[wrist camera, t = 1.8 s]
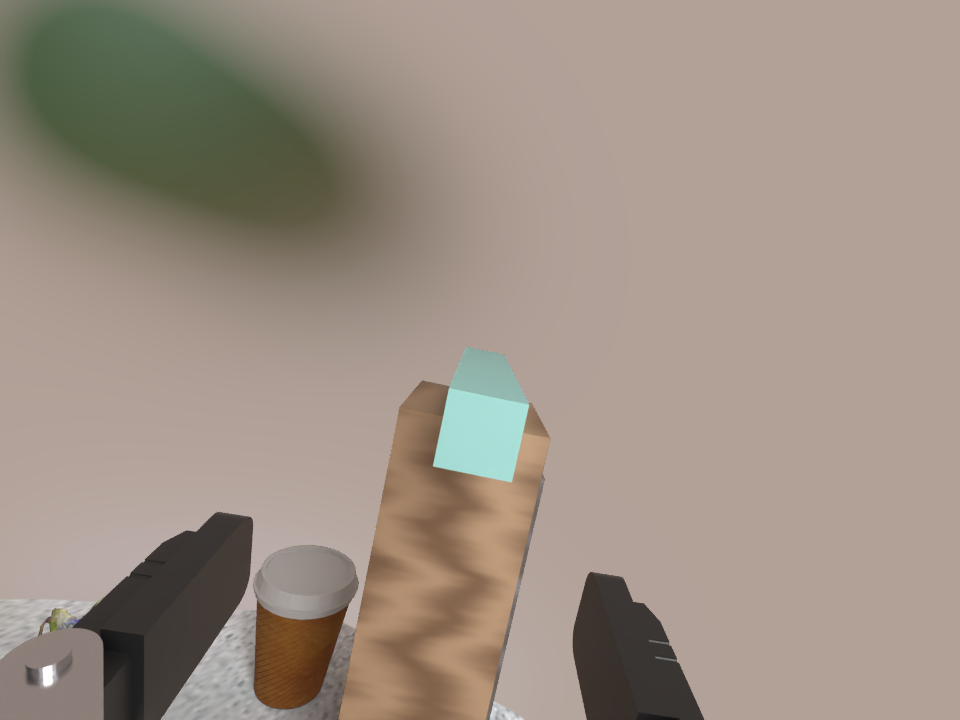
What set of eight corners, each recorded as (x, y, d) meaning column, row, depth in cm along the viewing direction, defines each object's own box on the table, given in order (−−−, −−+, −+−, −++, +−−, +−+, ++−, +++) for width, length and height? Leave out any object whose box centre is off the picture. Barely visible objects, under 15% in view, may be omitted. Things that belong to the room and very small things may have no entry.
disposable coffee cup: (299, 742, 42) (323, 613, 41) (210, 697, 44) (231, 574, 43) (357, 670, 51) (378, 563, 50) (280, 636, 54) (299, 533, 52)
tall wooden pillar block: (314, 839, 35) (399, 407, 32) (358, 701, 47) (422, 379, 44) (457, 867, 35) (556, 439, 32) (463, 722, 47) (535, 403, 44)
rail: (432, 466, 22) (448, 388, 21) (458, 384, 46) (466, 346, 45) (512, 482, 22) (529, 404, 22) (496, 392, 46) (504, 354, 45)
